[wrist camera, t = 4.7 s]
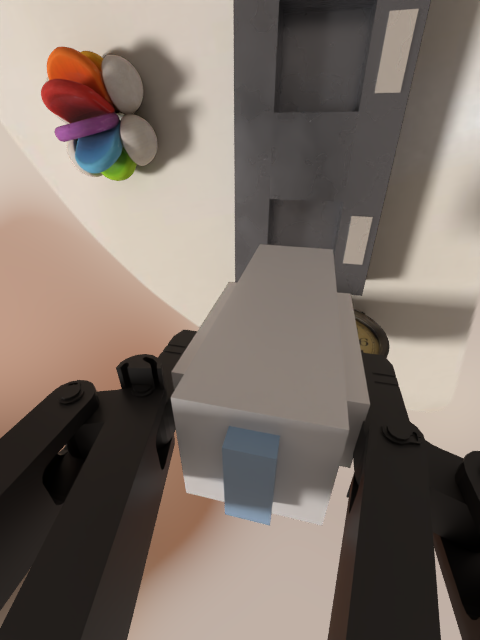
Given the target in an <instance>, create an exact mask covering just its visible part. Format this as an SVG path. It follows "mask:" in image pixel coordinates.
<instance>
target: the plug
mask: <svg viewBox="0 0 480 640" xmlns="http://www.w3.org/2000/svg"><path fill="white" fill-rule="evenodd" d="M171 403H172V409H173V415H174V421H175V427H176V433H177V439H178V445H179V451H180V457H181V463H182V469H183V475H184V481H185V487H186V492H187V493H190V494H194V495H199V496H203V497H207V498H211V499H215V500H219V501H223V502H225V514H227V515H230V516H234V517H238V518H242V519H246V520H250V521H254V522H258V523H262V524H266V525H270V520H271V513H272V514H276V515H280V516H284V517H288V518H292V519H296V520H300V521H305V522H309V523H313V524H317V525H321V526H322V524H323V521H324V517H325V514H326V510H327V507H328V503H329V500H330V496H331V493H332V489H333V485H334V482H335V478H336V475H337V472H338V468H339V465H340V461H341V458H342V454H343V451H344V447H345V443H346V440H347V436H348V433H349V420H348V409H347V398H346V387H345V376H344V365H343V354H342V343H341V332H340V321H339V310H338V298H337V287H336V276H335V265H334V254H333V249H321V248H306V247H292V246H278V245H264V244H260V245H259V246H258V248H257V250H256V252H255V253H254V255H253V257H252V258H251V260H250V262H249V264H248V265H247V267H246V269H245V270H244V272H243V274H242V276H241V277H240V279H239V281H238V282H237V284H236V286H235V288H234V289H233V291H232V293H231V294H230V296H229V298H228V300H227V301H226V303H225V305H224V306H223V308H222V310H221V312H220V313H219V315H218V317H217V318H216V320H215V322H214V324H213V325H212V327H211V329H210V330H209V332H208V334H207V336H206V337H205V339H204V341H203V343H202V344H201V346H200V348H199V349H198V351H197V353H196V355H195V356H194V358H193V360H192V361H191V363H190V365H189V367H188V368H187V370H186V372H185V373H184V375H183V377H182V379H181V380H180V382H179V384H178V385H177V387H176V389H175V391H174V392H173V394H172V396H171Z"/></svg>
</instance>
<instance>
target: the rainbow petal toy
mask: <svg viewBox="0 0 480 640" xmlns="http://www.w3.org/2000/svg"><path fill="white" fill-rule="evenodd" d="M47 73H48V78H47V80H46V82H45V84H44V85H43V87H42V90H41V96H42V100H43V102H44V104H45V105H46V107H47V108H48V109H49V110H50V111H51V112H53V113H54V114H55V115H56V116H57V117H58V118H59V119H60V120H62V121H63V122H65V123H67V125H63V126H60V127H57V128H56V129H55V135H56V137H57V138H58V139H59V140H60V141H63V142H65V141H68V142H67V153H68V156H69V159H70V161H71V162H72V164H73V165H74V166H75V167H76V168H77V169H78V170H79V171H80V172H82V173H84V174H85V175H88V176H92V177H99V176H102V175H104V176H105V177H107V178H109V179H111V180H116V181H121V180H125V179H127V178H129V177H130V176H131V175H132V174H133V172H134V171H135V168H136V165H137V164H138V165H141V166H144V165H147V164H148V163H150V162H151V161H152V160H153V158H154V157H155V155H156V152H157V137H156V134H155V132H154V130H153V128H152V127H151V125H150V124H149V123H148V122H147V121H146V120H144V119H143V118H141V117H140V116H137V115H133V113H134V112H135V111H136V110H137V109H138V108H139V107H140V105H141V103H142V99H143V85H142V81H141V78H140V76H139V74H138V72H137V70H136V69H135V68H134V66H133V65H132V64H131V63H130V62H129V61H127V60H126V59H124V58H123V57H120V56H118V55H106V56H105V57H104V59H103V58H102V57H101V56H99V55H98V54H96V53H93V52H90V51H82V52H79V51H76V50H74V49H72V48H68V47H57V48H56V49H55V50H54V51H53V52H52V53H51V54H50V56H49V58H48V61H47ZM117 112H122V113H123V114H124V116H123V117H122V119H121V120H119V117H118V115H117V114H116V113H117Z"/></svg>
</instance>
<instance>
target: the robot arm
mask: <svg viewBox="0 0 480 640" xmlns="http://www.w3.org/2000/svg"><path fill="white" fill-rule="evenodd" d="M236 284H237V283H235V282H229V283H228V284H227V286H226V288H225V289H224V291H223V292H222V294H221V295H220V297H219V298H218V300H217V302H216V303H215V305H214V306H213V308H212V309H211V311H210V312H209V314H208V316H207V317H206V319H205V320H204V322H203V323H202V325H201V327H200V328H199V330H198V331H190V330H183V331H181V332H180V333H178V334H176V335H175V336H174V337H173V338H172V339H171V341H170V342H169V344H168V346H166V347H165V349H164V350H163V352H162V353H161V354H160V356H159V357H158V358H157V357H155V356H153V355H147V354H142V355H135V356H132V357H130V358H127V359H125V360H124V361H122V362H121V363H120V364H119V365H118V366H117V367H116V369H117V372H118V376H119V380H120V383H121V387H122V389H119V390H111V391H100V392H96V389H95V387H94V385H93V383H91V382H89V381H84V380H77V381H72V382H69V383H66V384H64V385H61V386H60V387H59V388H57V389H55V390H54V391H53V392H52V393H51V394H49V395H48V396H47V397H46V398H45V399H44V400H43V401H42V402H41V403H39V404H38V405H37V406H36V407H35V408H34V409H33V410H32V411H31V412H29V413H28V414H27V415H26V416H25V417H24V418H23V419H22V420H20V421H19V422H18V423H17V424H16V425H15V426H14V427H13V428H12V429H11V430H9V431H8V432H7V433H6V434H5V435H4V436H3V437H2V438H0V610H1V609H2V607H3V606H4V604H5V603H6V602H7V600H8V599H9V598H10V596H11V595H12V593H13V592H14V590H15V589H16V588H17V586H18V585H19V583H20V582H21V581H22V579H23V578H24V576H25V575H26V574H27V572H28V571H29V569H30V568H31V569H30V571H29V573H28V575H27V577H26V579H25V581H24V583H23V584H22V587H21V588H20V591H19V592H18V594H17V596H16V598H15V600H14V602H13V604H12V606H11V608H10V610H9V612H8V614H7V616H6V618H5V620H4V622H3V624H2V626H1V628H0V640H127V637H128V633H129V629H130V625H131V620H132V617H133V613H134V609H135V604H136V600H137V596H138V592H139V588H140V584H141V580H142V576H143V571H144V567H145V563H146V559H147V555H148V551H149V547H150V543H151V539H152V534H153V530H154V526H155V522H156V518H157V514H158V510H159V506H160V502H161V498H162V494H163V489H164V485H165V481H166V477H167V473H168V469H169V465H170V460H171V457H172V453H173V449H174V444H175V438H174V432H175V430H176V427H175V421H174V415H173V409H172V403H171V396H172V394H173V392H174V391H175V389H176V387H177V385H178V384H179V382H180V380H181V379H182V377H183V375H184V373H185V372H186V370H187V368H188V367H189V365H190V363H191V361H192V360H193V358H194V356H195V355H196V353H197V351H198V349H199V348H200V346H201V344H202V343H203V341H204V339H205V337H206V336H207V334H208V332H209V330H210V329H211V327H212V325H213V324H214V322H215V320H216V318H217V317H218V315H219V313H220V312H221V310H222V308H223V306H224V305H225V303H226V301H227V300H228V298H229V296H230V294H231V293H232V291H233V289H234V288H235V286H236ZM337 298H338V310H339V321H340V332H341V343H342V354H343V365H344V376H345V387H346V398H347V409H348V420H349V433H348V436H347V440H346V443H345V447H344V451H343V454H342V458H341V461H340V465H339V466H343V467H348V468H350V466H351V463H352V460H353V459H354V471H355V472H354V476H353V478H352V482H351V485H350V488H349V490H348V493H347V497H349V501H348V508H347V514H346V520H345V527H344V534H343V540H342V547H341V554H340V561H339V567H338V574H337V580H336V587H335V594H334V600H333V607H332V614H331V621H330V627H329V634H328V640H441V635H440V622H439V609H438V595H437V582H436V570H435V557H434V548H435V551H436V555H437V558H438V561H439V565H440V568H441V571H442V575H443V578H444V581H445V584H446V587H447V591H448V594H449V598H450V601H451V604H452V607H453V611H454V614H455V617H456V621H457V624H458V627H459V630H460V634H461V637H462V640H480V451H473V452H471V453H469V454H467V455H466V456H465V457H464V458H461V457H459V456H457V455H454V454H452V453H449V452H447V451H445V450H442V449H440V448H438V447H436V446H434V445H432V444H430V443H429V442H427V441H426V440H425V439H424V436H423V434H422V433H421V432H420V430H419V429H418V428H417V427H416V426H415V425H414V424H412V423H411V422H410V421H409V418H408V415H407V411H406V408H405V405H404V401H403V398H402V395H401V391H400V388H399V387H398V382H397V378H396V375H395V372H394V368H393V365H392V364H391V363H390V362H389V361H388V360H387V359H386V357H385V356H384V355H377V354H370V353H362V352H361V349H360V344H359V338H358V332H357V327H356V321H355V315H354V310H353V304H352V298H351V294H348V293H338V292H337ZM64 445H66V446H65V448H64V449H63V450H61V449H62V448H63V447H64ZM60 450H61V451H60ZM59 451H60V452H59ZM58 452H59V453H58Z"/></svg>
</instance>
